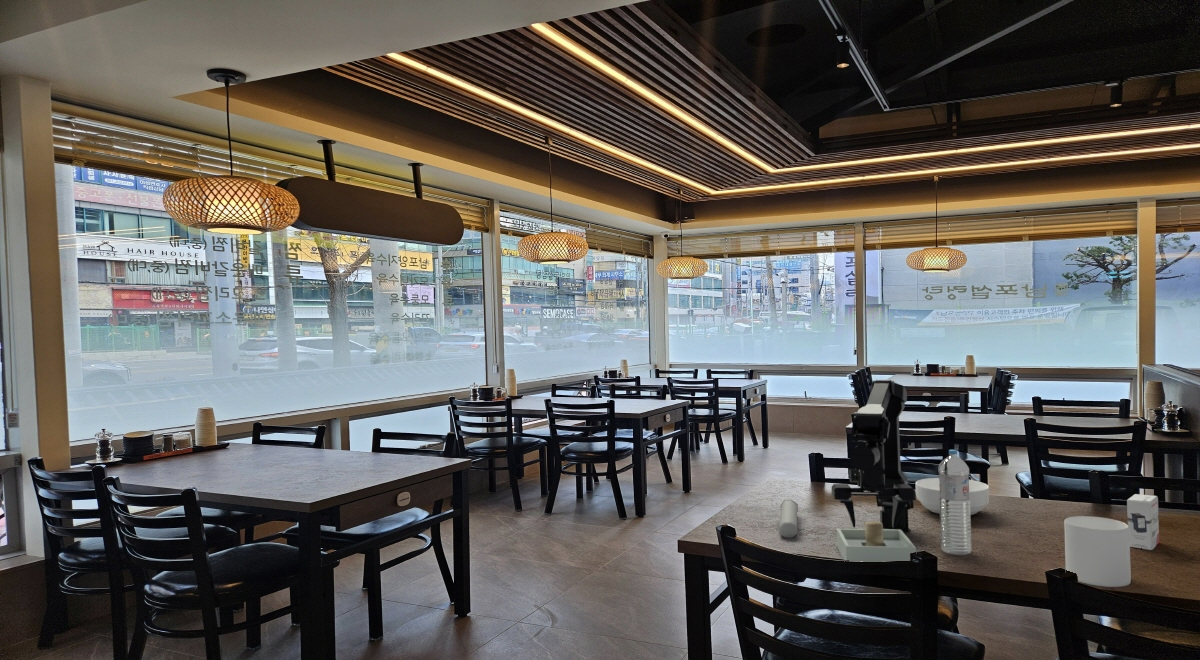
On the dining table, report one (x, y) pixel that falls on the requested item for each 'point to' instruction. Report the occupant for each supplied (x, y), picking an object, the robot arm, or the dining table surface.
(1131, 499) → the ink box
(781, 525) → the tube
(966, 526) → the water bottle
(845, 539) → the caddy
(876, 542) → the peg
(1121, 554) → the cup
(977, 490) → the bowl
